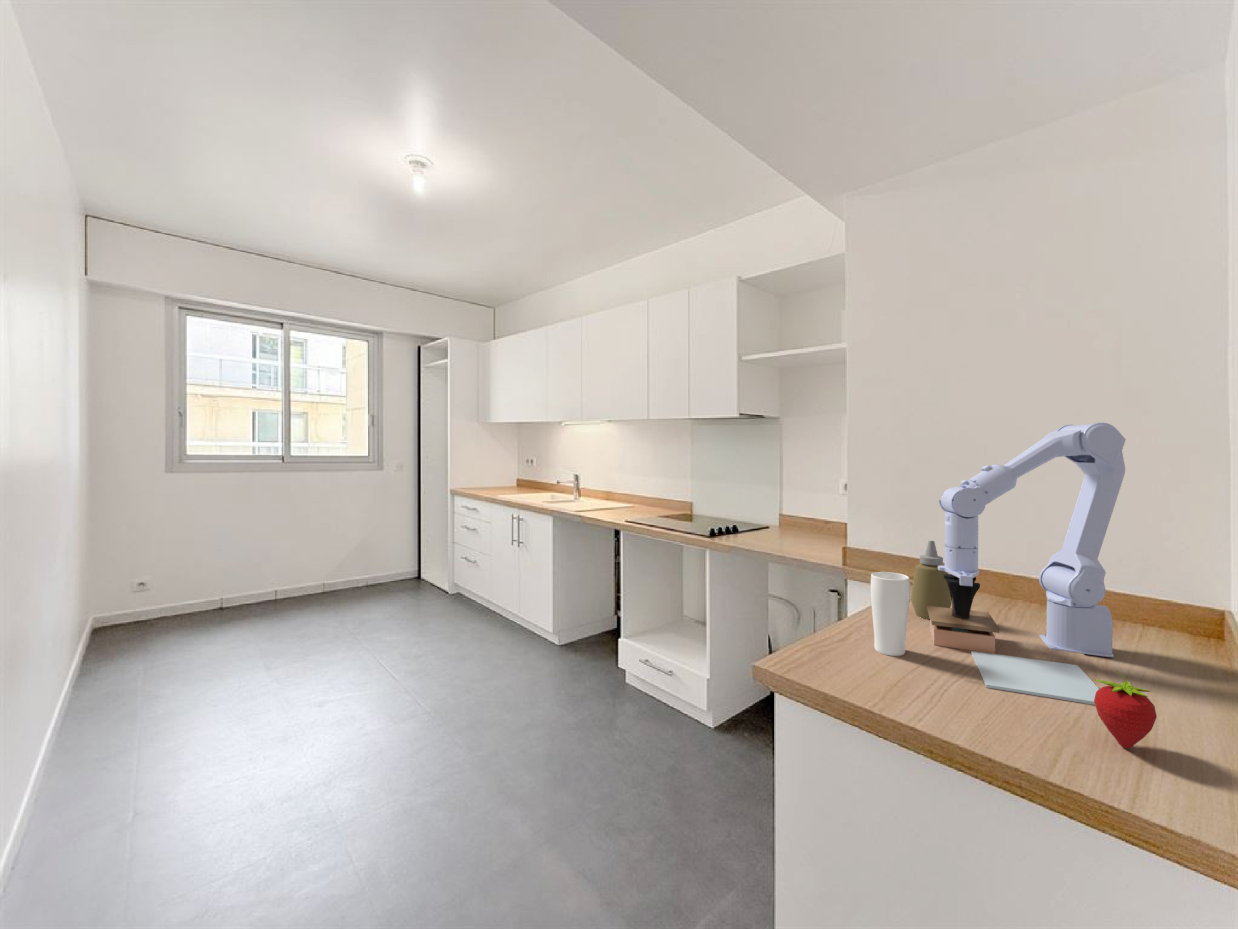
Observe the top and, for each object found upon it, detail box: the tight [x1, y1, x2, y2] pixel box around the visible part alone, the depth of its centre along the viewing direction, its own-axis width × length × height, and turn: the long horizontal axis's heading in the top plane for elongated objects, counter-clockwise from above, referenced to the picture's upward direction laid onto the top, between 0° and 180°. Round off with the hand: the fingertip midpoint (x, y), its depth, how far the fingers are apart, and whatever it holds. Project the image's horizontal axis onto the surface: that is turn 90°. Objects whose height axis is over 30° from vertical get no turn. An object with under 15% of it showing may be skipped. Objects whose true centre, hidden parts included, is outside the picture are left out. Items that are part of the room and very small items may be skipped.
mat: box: [970, 650, 1100, 706], centre depth 90 cm, size 16×16×1 cm
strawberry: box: [1094, 669, 1158, 749], centre depth 69 cm, size 6×8×10 cm
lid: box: [927, 598, 1000, 634], centre depth 106 cm, size 11×11×4 cm
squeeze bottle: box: [910, 540, 952, 620], centre depth 121 cm, size 8×8×18 cm
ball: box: [952, 628, 968, 632], centre depth 106 cm, size 3×3×3 cm
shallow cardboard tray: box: [929, 620, 996, 654], centre depth 106 cm, size 10×10×4 cm
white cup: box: [870, 571, 911, 657], centre depth 101 cm, size 7×7×15 cm
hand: (960, 613), depth 106 cm, fingers closed on lid, 3 cm apart
